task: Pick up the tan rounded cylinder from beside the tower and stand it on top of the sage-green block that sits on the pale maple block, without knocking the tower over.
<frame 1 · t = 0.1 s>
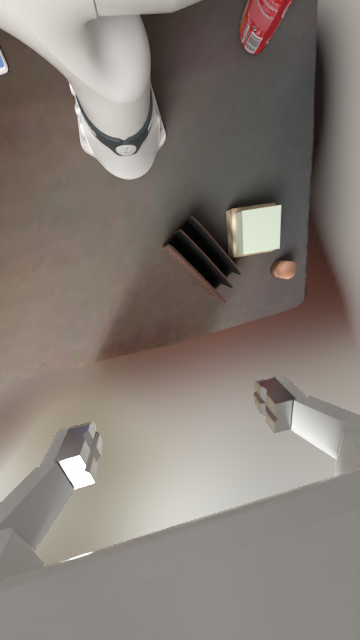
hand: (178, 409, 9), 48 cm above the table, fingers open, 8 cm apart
sage top block: (253, 232, 50), point 3 cm above the table, touching maple base block
letter holder: (198, 259, 54), on the table
maple base block: (246, 232, 54), on the table, touching sage top block
soda can: (252, 35, 40), on the table
tan rounded cylinder: (277, 268, 59), on the table
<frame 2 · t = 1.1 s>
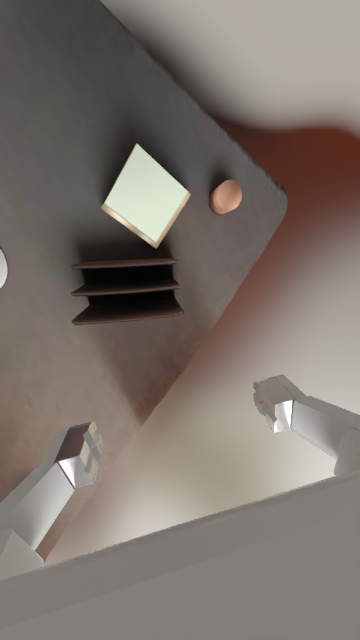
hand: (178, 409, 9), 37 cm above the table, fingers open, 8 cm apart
sage top block: (146, 202, 35), point 3 cm above the table
letter holder: (131, 281, 43), on the table
maple base block: (146, 205, 39), on the table
tan rounded cylinder: (219, 201, 40), on the table
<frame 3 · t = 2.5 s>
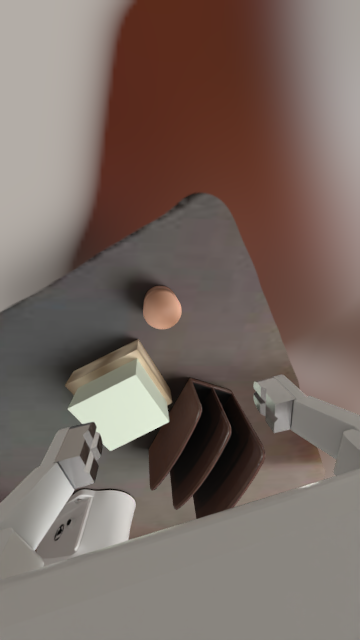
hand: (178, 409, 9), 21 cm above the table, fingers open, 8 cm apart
sage top block: (125, 395, 30), point 3 cm above the table
letter holder: (188, 419, 39), on the table
maple base block: (125, 378, 33), on the table
tan rounded cylinder: (160, 301, 29), on the table
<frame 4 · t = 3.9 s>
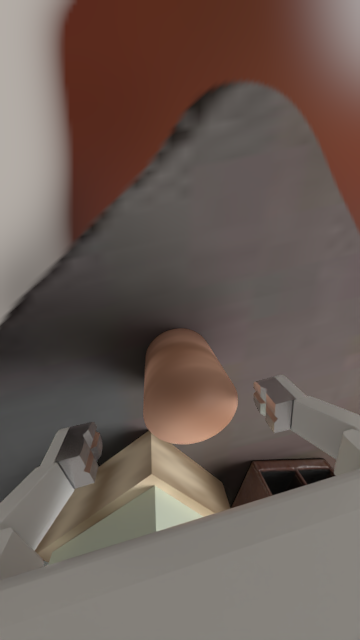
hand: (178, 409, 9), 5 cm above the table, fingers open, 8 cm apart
sage top block: (144, 539, 16), point 4 cm above the table
letter holder: (259, 507, 25), on the table
maple base block: (144, 485, 20), on the table
tan rounded cylinder: (178, 358, 14), on the table
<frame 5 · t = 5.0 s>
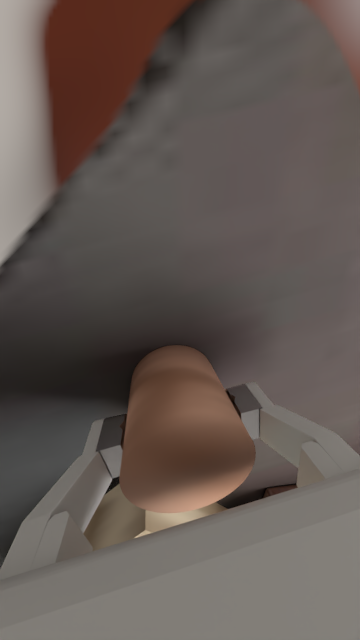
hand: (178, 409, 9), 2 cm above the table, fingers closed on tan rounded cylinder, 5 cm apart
maple base block: (144, 520, 17), on the table
tan rounded cylinder: (173, 381, 11), on the table, touching gripper
when the fingers open (11 cm above the table, at t = 11.3 s): tan rounded cylinder drops 1 cm, resting on sage top block.
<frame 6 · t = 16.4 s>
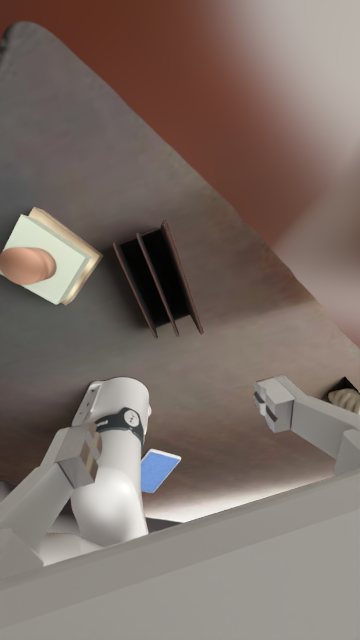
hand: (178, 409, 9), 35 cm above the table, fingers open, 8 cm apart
sage top block: (52, 262, 34), point 3 cm above the table, touching maple base block, tan rounded cylinder
letter holder: (157, 281, 42), on the table
maple base block: (60, 259, 37), on the table, touching sage top block
tan rounded cylinder: (39, 264, 30), point 8 cm above the table, touching sage top block
decorative object: (335, 390, 65), on the table
tablet computer: (151, 468, 64), on the table
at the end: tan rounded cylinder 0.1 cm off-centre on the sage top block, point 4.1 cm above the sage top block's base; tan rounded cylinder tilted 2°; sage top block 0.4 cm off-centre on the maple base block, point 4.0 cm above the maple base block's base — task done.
